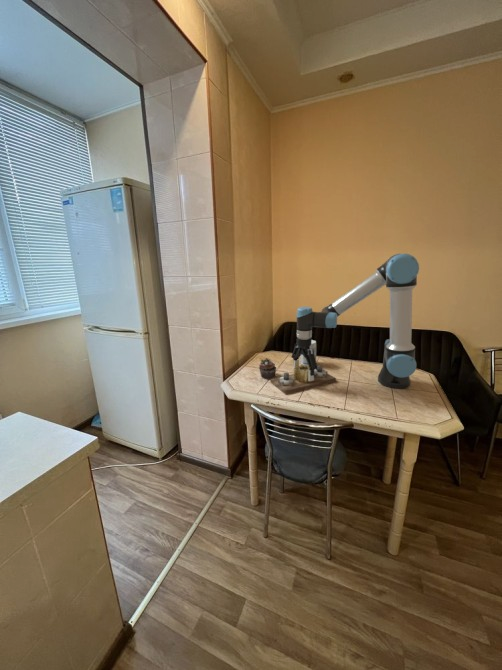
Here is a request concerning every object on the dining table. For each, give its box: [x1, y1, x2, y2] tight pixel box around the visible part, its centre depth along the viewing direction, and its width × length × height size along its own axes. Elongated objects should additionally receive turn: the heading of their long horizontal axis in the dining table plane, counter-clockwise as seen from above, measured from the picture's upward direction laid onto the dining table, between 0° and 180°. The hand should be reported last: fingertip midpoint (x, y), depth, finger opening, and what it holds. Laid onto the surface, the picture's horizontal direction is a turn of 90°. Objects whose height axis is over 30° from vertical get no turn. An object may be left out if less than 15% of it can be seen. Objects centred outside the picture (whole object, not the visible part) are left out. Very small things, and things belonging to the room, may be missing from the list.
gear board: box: [270, 364, 337, 395], centre depth 149 cm, size 15×31×7 cm, turn 114°
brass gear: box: [293, 364, 310, 383], centre depth 148 cm, size 10×10×6 cm
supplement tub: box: [299, 339, 317, 366], centre depth 172 cm, size 10×10×15 cm
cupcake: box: [258, 358, 277, 380], centre depth 158 cm, size 10×10×10 cm
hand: (303, 375), depth 149 cm, fingers open, 13 cm apart
